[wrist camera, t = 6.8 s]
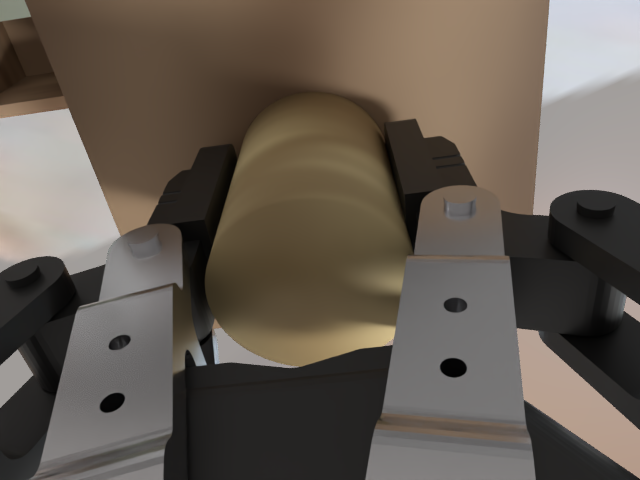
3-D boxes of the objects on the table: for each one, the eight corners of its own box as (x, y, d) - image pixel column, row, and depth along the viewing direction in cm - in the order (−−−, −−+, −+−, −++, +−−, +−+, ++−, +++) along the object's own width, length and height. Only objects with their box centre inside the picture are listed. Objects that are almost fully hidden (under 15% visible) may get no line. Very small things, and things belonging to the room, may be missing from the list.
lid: (521, -110, 12) (720, -101, 6) (504, 250, 18) (602, 444, 11) (59, -33, 13) (-164, 41, 7) (176, 289, 18) (107, 488, 12)
